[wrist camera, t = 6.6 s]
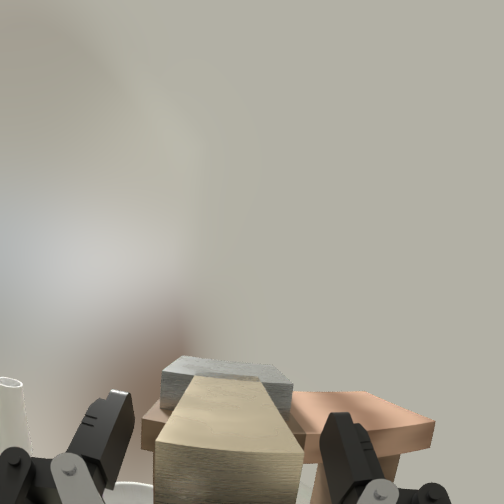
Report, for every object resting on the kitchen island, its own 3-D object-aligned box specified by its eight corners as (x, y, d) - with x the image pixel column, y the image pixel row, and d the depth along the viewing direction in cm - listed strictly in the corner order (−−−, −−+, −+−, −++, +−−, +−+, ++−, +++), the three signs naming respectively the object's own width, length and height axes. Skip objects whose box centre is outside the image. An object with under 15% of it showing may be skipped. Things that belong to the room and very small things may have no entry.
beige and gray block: (91, 492, 6) (87, 424, 7) (179, 382, 26) (182, 355, 26) (354, 512, 7) (370, 448, 7) (269, 391, 26) (272, 364, 27)
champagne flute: (46, 523, 25) (28, 392, 30) (8, 518, 21) (-16, 383, 26) (41, 501, 30) (29, 379, 35) (7, 496, 26) (-10, 372, 31)
